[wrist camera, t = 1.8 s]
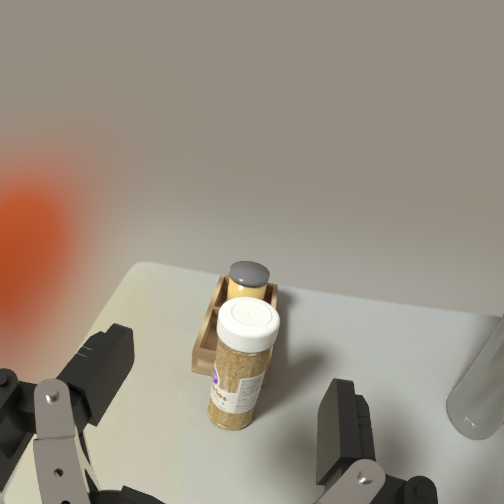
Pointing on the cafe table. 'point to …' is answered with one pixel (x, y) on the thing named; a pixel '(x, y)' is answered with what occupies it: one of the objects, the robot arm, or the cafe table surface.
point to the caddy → (208, 333)
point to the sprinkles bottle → (241, 359)
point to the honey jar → (247, 280)
